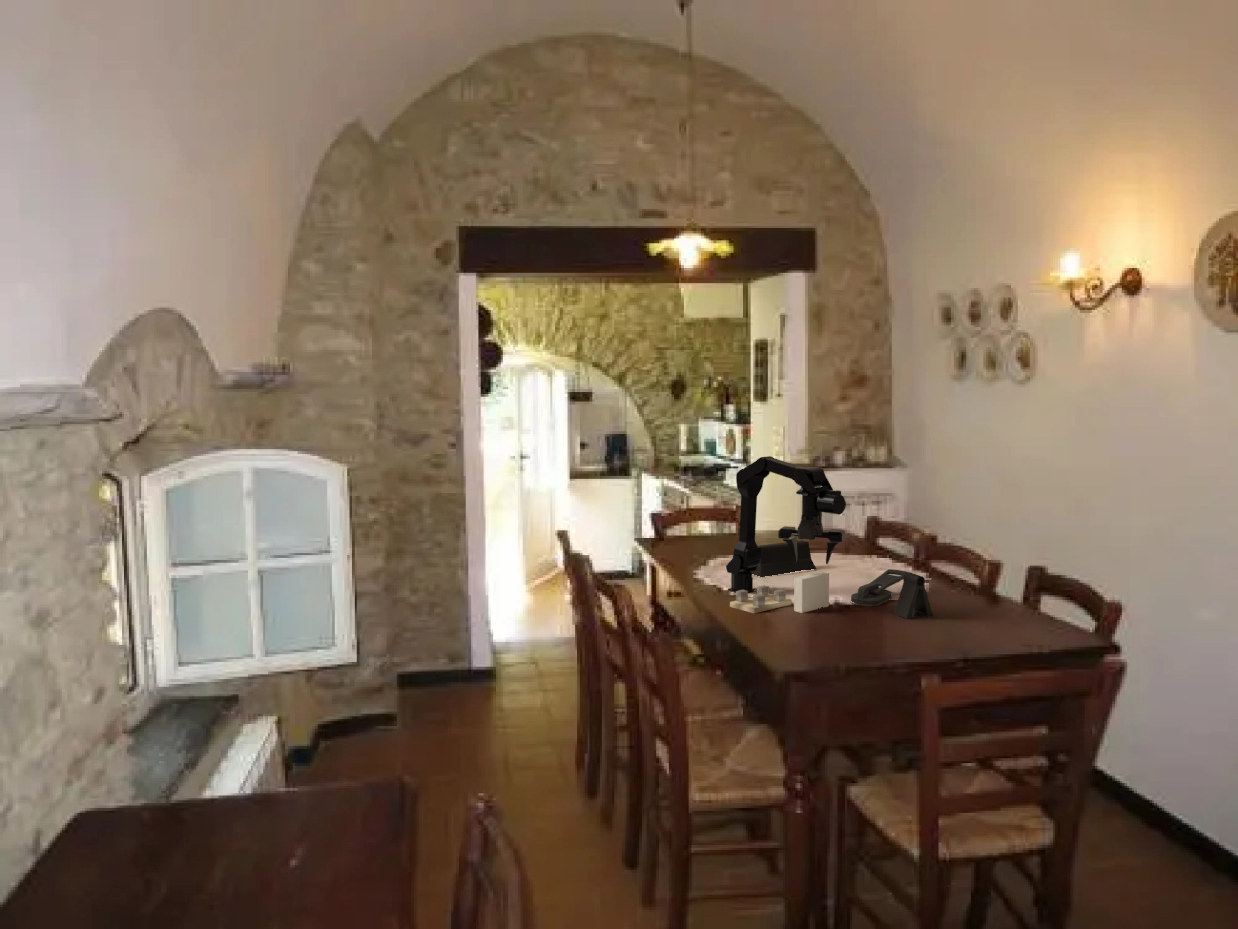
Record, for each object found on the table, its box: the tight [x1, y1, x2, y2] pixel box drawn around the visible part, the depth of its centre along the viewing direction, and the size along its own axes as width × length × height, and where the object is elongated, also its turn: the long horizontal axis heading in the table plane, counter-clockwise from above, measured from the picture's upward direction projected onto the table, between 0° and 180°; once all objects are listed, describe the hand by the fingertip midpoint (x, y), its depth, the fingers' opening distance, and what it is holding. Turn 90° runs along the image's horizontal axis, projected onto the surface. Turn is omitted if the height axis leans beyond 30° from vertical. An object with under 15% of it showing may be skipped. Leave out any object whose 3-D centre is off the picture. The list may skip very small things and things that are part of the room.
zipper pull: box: [850, 568, 910, 607], centre depth 301 cm, size 9×7×25 cm
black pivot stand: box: [893, 571, 934, 620], centre depth 280 cm, size 9×6×12 cm, turn 109°
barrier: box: [751, 540, 817, 578], centre depth 339 cm, size 24×9×10 cm, turn 117°
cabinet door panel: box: [793, 571, 830, 614], centre depth 289 cm, size 3×12×10 cm, turn 128°
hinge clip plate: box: [729, 584, 792, 614], centre depth 293 cm, size 10×16×4 cm, turn 128°
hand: (811, 562), depth 288 cm, fingers open, 9 cm apart
